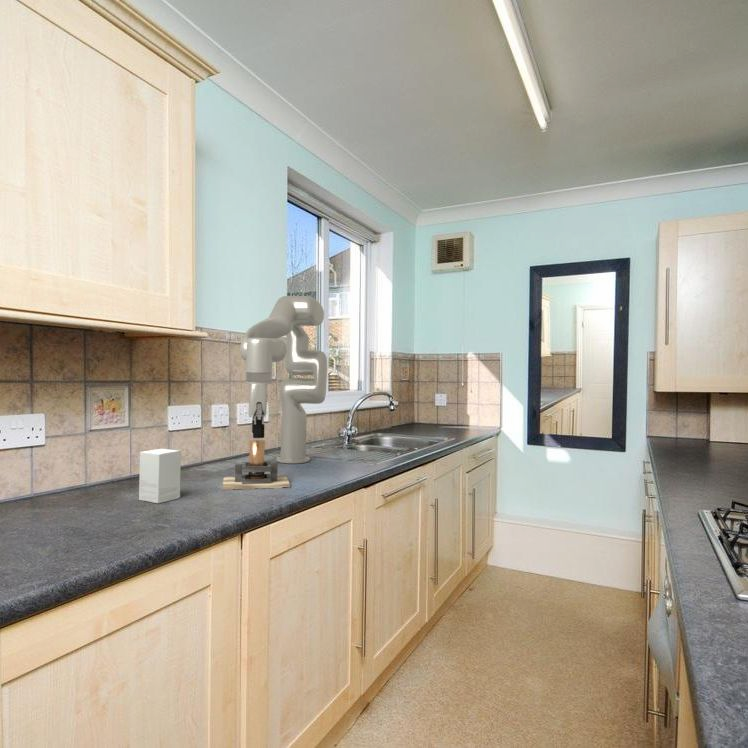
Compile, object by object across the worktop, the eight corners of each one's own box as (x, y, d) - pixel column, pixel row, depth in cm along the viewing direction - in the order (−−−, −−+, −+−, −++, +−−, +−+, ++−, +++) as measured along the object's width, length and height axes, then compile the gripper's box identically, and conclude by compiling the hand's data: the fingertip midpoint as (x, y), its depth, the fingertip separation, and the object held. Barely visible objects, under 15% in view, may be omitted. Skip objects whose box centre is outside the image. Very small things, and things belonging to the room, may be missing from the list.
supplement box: (181, 498, 133) (182, 450, 133) (157, 504, 126) (158, 454, 126) (161, 494, 136) (162, 447, 136) (137, 500, 130) (138, 451, 130)
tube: (248, 479, 153) (249, 440, 153) (263, 478, 154) (264, 439, 154) (248, 482, 148) (249, 442, 148) (264, 482, 150) (265, 441, 150)
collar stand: (223, 480, 155) (224, 461, 155) (285, 478, 160) (286, 459, 160) (222, 490, 143) (222, 469, 143) (290, 487, 148) (290, 467, 148)
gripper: (245, 377, 159) (244, 431, 159) (246, 379, 142) (245, 440, 143) (269, 377, 161) (269, 431, 161) (273, 380, 144) (272, 439, 145)
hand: (257, 435), depth 152 cm, fingers open, 9 cm apart
